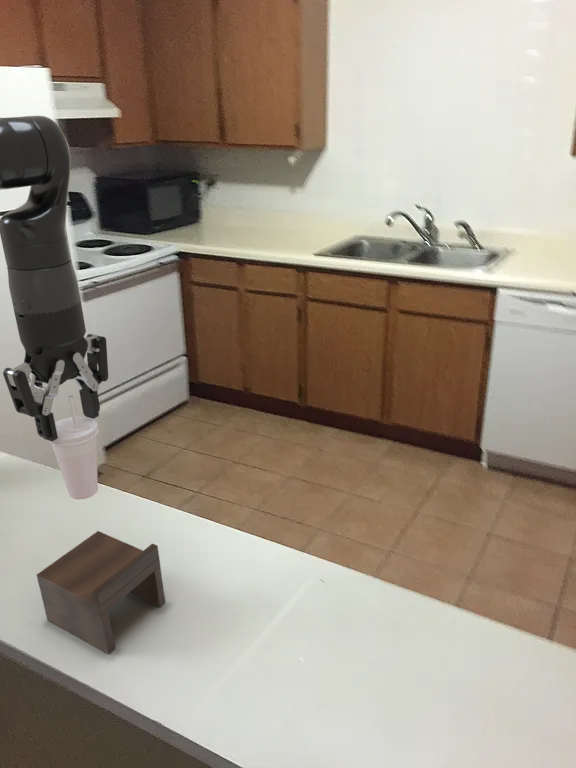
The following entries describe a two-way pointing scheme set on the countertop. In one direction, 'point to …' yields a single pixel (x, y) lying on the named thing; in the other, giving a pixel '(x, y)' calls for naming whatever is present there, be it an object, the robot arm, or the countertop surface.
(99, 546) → the shelf
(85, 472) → the smoothie
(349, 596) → the countertop surface
